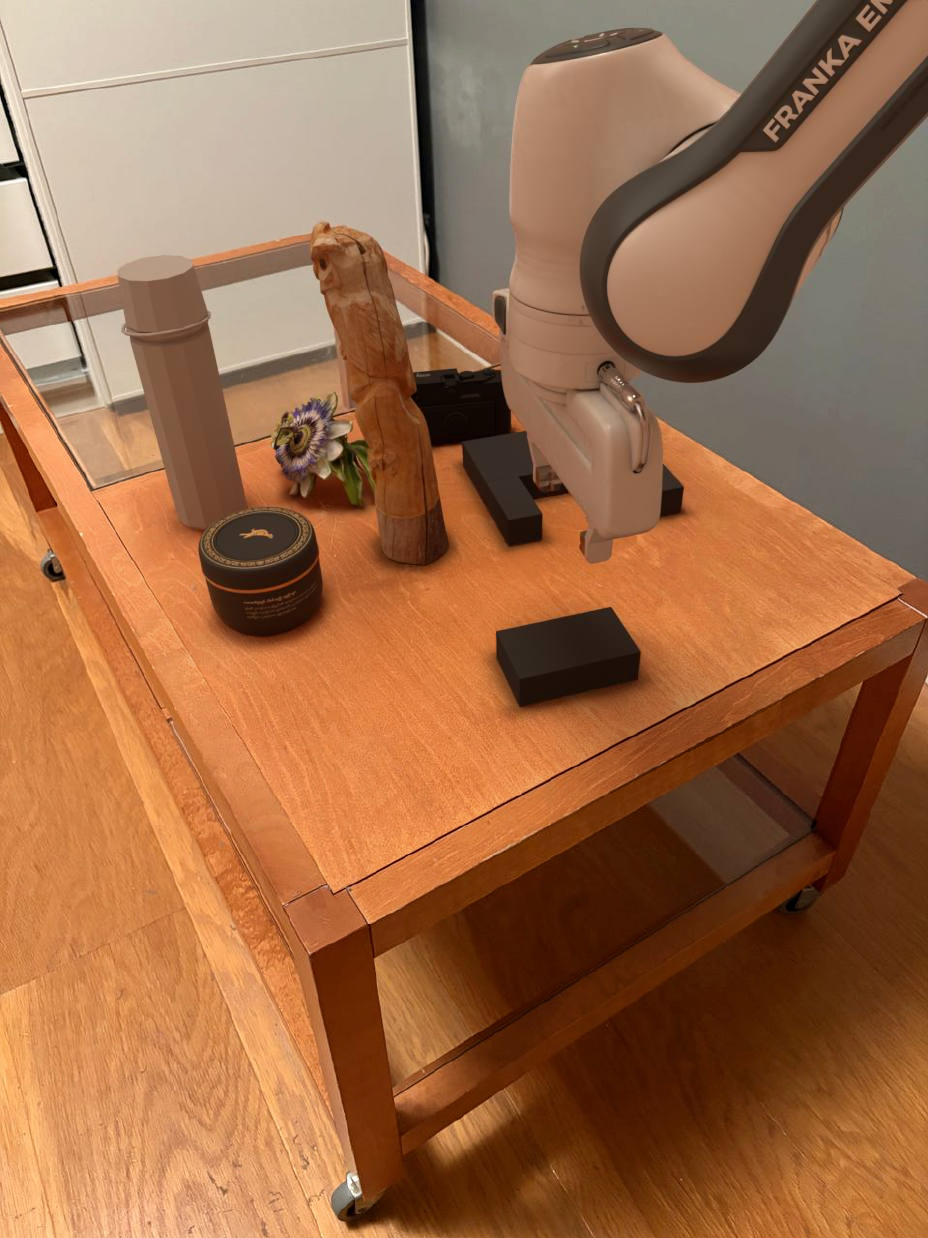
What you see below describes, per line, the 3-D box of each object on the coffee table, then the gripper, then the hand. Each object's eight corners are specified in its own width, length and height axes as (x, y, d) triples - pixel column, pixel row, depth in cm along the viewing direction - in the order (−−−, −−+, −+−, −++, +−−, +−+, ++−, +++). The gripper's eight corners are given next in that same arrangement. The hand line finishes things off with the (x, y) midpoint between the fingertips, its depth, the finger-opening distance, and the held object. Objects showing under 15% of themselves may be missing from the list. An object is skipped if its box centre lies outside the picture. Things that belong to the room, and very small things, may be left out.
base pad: (617, 438, 106) (618, 414, 104) (681, 512, 94) (684, 486, 92) (462, 466, 102) (461, 441, 101) (508, 546, 90) (508, 520, 89)
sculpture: (347, 537, 93) (303, 218, 74) (440, 522, 94) (420, 206, 75) (356, 576, 88) (310, 244, 69) (454, 560, 89) (437, 231, 70)
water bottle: (263, 518, 96) (213, 269, 80) (188, 544, 93) (121, 290, 77) (230, 480, 102) (177, 242, 86) (159, 503, 99) (91, 260, 83)
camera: (507, 410, 112) (507, 346, 107) (519, 439, 106) (518, 373, 101) (387, 422, 111) (381, 358, 106) (392, 452, 105) (386, 385, 100)
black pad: (609, 633, 80) (611, 606, 78) (638, 679, 76) (641, 651, 74) (496, 658, 78) (495, 630, 76) (519, 707, 74) (519, 679, 72)
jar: (208, 586, 87) (190, 516, 82) (315, 564, 89) (304, 494, 85) (221, 653, 80) (202, 581, 75) (337, 627, 82) (326, 555, 77)
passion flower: (306, 536, 103) (241, 441, 100) (381, 483, 107) (320, 390, 104) (342, 525, 93) (271, 419, 90) (423, 466, 97) (357, 363, 94)
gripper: (703, 398, 52) (674, 596, 61) (568, 273, 67) (561, 446, 76) (595, 415, 51) (582, 616, 59) (483, 285, 66) (486, 459, 75)
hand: (569, 520), depth 68 cm, fingers open, 8 cm apart
